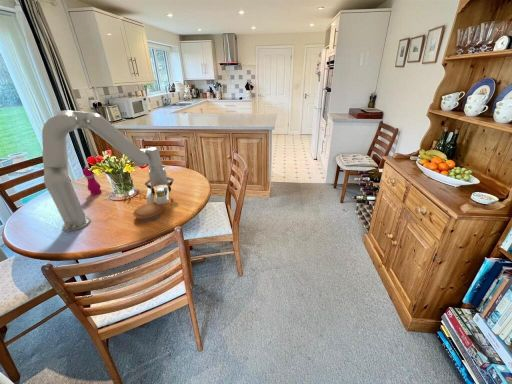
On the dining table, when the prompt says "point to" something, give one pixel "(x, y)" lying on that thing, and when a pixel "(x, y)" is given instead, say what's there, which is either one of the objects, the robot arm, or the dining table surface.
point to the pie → (148, 211)
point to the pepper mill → (92, 182)
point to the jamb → (158, 199)
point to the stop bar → (161, 191)
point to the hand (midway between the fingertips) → (162, 192)
